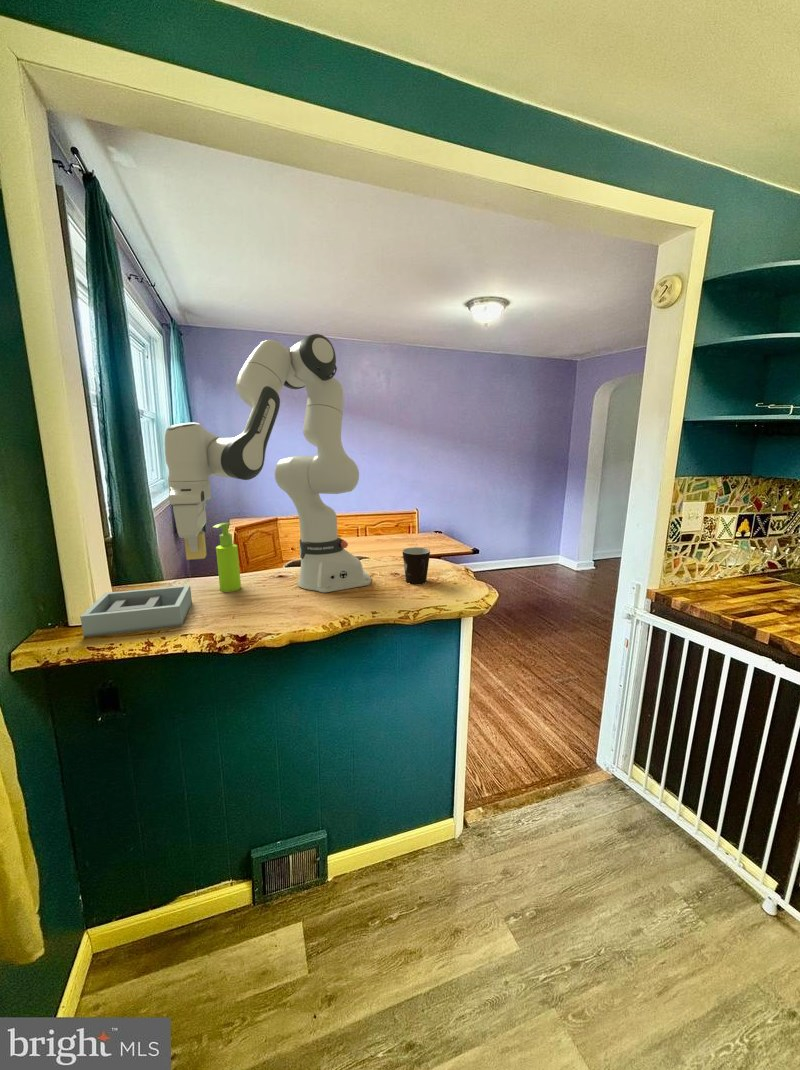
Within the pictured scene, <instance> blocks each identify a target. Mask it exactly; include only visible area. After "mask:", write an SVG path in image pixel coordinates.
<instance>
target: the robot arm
mask: <svg viewBox="0 0 800 1070" xmlns="http://www.w3.org/2000/svg"><path fill="white" fill-rule="evenodd" d="M336 363H337V355H336V351H335V348H334V345H333V344H332V342H331V341H330V340H329V338H327V337H326V336H325V335H323V334H320V333H319V334H318V333H313V334H309V335H307V336H304V337H303V338H302V339H301V340H299V341H298V342H296V343H295V344H294V345H292V346H291V347H290V348H287V347H286V346H285V345H284V344H282V343H281V342H279V341H277V340H273V339H265V340H263V341H261V342H260V343H259V344H258V345H257V346H256V347H255V348H254V350H253V351H252V352H251V353H250V355H249V356H248V358H247V359H246V361H245V362H244V364H243V365H242V368H241V369H240V371H239V373H238V375H237V378H236V382H235V387H236V391H237V394H238V395H239V397H240V398H241V399H242V400H243V402H244V403H246V404H247V406H249V407H250V408H251V411H250V413H249V416H248V419H247V421H246V424H245V426H244V428H243V431H242V432H241V433H240V434H238V435H237V436H235V437H220V436H219V435H216V434H214V433H212V432H210V431H209V430H207V429H206V428H205V427H204V426H202V424H201V423H199V422H182V423H176V424H175V423H174V424H172V425H170V426H168V427H167V428H166V430H165V434H164V455H165V462H166V466H167V467H168V477H167V482H168V490H169V491H168V493H169V494H168V500H169V504H170V505H173V507H172V510H173V511H172V512H173V515H174V522H175V527H176V531H177V535H178V537H179V538H180V539H184V538H187V540H188V543H189V548H190V552H197V551H198V549H199V547H198V540H197V537H198V536H197V535H198V534H199V532H201V531H203V530H202V529H203V528H204V526H205V525H206V523H207V510H206V506H207V502H206V501H209V500H211V499H212V493H211V484H210V482H211V481H210V476H213V477H222V478H233V479H238V480H242V481H249V480H253V479H254V478H256V477H257V476H258V475H259V474H260V473H261V471H262V469H263V467H264V465H265V459H266V451H267V447H268V443H269V440H270V437H271V434H272V432H273V430H274V429H273V428H274V427H275V424H276V419H277V416H278V414H279V411H280V406H281V398H280V394H281V390H282V389H283V387H286V388H288V389H290V390H301V389H303V388H305V389H306V395H307V400H306V406H305V412H304V413H305V414H304V420H303V428H302V433H303V436H304V438H305V440H306V441H307V442H308V443H310V444H311V445H313V446H314V447H316V448H317V453H316V455H293V456H289V457H288V456H287V457H285V458H281V459H280V460H278V462H277V463H276V466H275V468H274V479H275V483H276V484H277V486H278V487H279V488H280V490H282V491H283V492H284V493H286V494H287V496H288V497H289V498H290V499H291V501H292V503H293V504H294V505H293V506H294V507H295V508H296V511H297V515H298V520H299V521H298V523H299V530H300V531H299V532H300V539H299V544H298V545H299V547H298V548H299V557H300V570H299V572H300V573H299V577H298V582H297V586H298V587H300V588H302V589H305V590H309V591H316V592H320V593H329V592H330V593H331V592H336V591H342V590H348V589H352V588H353V589H354V588H358V587H365V586H368V585H370V584H371V583H372V581H371V579H372V578H371V576H370V574H368V572H366V571H364V567H363V564H362V562H361V560H360V559H359V558H357V556H355V555H354V554H353V553H350V552H349V551H348V550H347V549H346V548H348V546H349V543H348V542H347V540H344V539H342V538H341V537H339V536H338V535H339V534H338V517H337V513H336V512H335V509H333V508H332V507H331V506H329V505H327V504H326V503H325V502H324V501H323V500H322V498H321V496H320V495H321V494H326V495H334V494H335V495H339V494H345V493H350V492H352V491H353V490H355V488H357V485H358V483H359V479H360V472H359V468H358V465H357V463H356V462H355V461H354V460H353V459H352V458H351V457H350V456H349V455H348V454H347V453H346V451H345V449H344V447H343V443H342V424H343V423H342V422H343V415H344V414H343V413H344V392H343V391H344V390H343V386H342V384H341V382H340V381H339V380H338V379H337V378H335V375H336V374H337V371H338V369H337V364H336Z"/></svg>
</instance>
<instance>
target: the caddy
mask: <svg viewBox="0 0 800 1070" xmlns="http://www.w3.org/2000/svg"><path fill="white" fill-rule="evenodd" d="M191 591H192V590H191V585H190V584H189V585H187V584H186V585H177V586H165V587H164V586H162V587H154V588H144V589H133V590H123V591H122V590H121V591H111V592H105V593H104V594H102V595H101V596H100V597H99V598H98V599H97V600H96V601H95V602H93V604H92V605H91V606H90V607H88V609H87V610H86V611H84V612H83V613H82V614H81V616H80V624H81V630H82V635H83V638H88V637H90V638H91V637H98V636H107V635H115V634H123V633H124V634H125V633H130V632H131V633H132V632H141V631H148V630H157V629H165V628H174V627H182V626H183V623H184V621H185V618H186V617H187V615H188V612H189V610H190V608H191V606H192V604H193V600H192V592H191Z"/></svg>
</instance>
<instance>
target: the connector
mask: <svg viewBox="0 0 800 1070" xmlns="http://www.w3.org/2000/svg"><path fill="white" fill-rule="evenodd" d="M197 536H198V537H197V540H198V547H199V549H198V551H197V552H190V548H189V543H188V540H187V538H183V539H184V549H185V557H186V561H190V560H203V559H206V556H207V555H208V554H207V545H206V534H205V531H203V530H202V531H201V532H199V534H198V535H197Z"/></svg>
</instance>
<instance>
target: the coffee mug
mask: <svg viewBox="0 0 800 1070" xmlns="http://www.w3.org/2000/svg"><path fill="white" fill-rule="evenodd" d="M430 554H431V550H430V549H428V548H426V547H417V546H416V547H407V548H403V549H402V559H403V567H404V577H405V582H407V584H408V583H410V584H409V585H412V584H421V585H424V584H426V583H427V578H428V571H429V562H430ZM425 582H426V583H425ZM423 583H424V584H423Z"/></svg>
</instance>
